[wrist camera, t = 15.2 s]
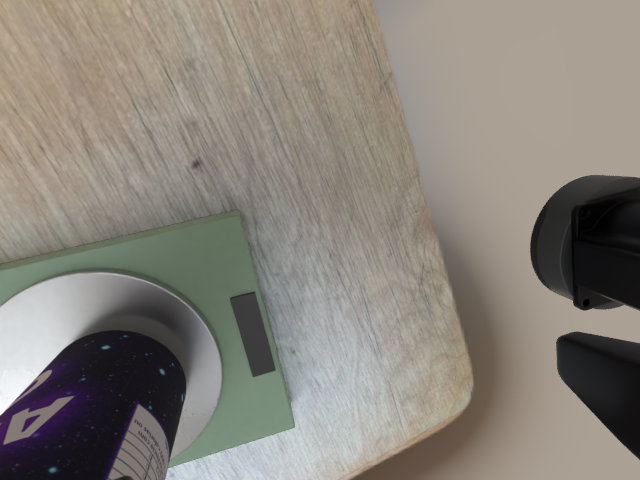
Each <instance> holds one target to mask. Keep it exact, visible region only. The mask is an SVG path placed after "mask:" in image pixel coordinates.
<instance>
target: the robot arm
mask: <svg viewBox="0 0 640 480" xmlns="http://www.w3.org/2000/svg"><path fill="white" fill-rule="evenodd" d="M581 212H582V214H581ZM571 234H572V272H573V303H574V306H575V307H577V308H579V309H581V310H589V309H592V308H595V307H598V306H602V305H605V304H608V303H611V302H615V301H616V302H619V303H621V304H624V305H626V306H629V307H632V308H634V309H637V310H639V311H640V187H639V188H635V189H632V190H628V191H624V192H620V193H616V194H613V195H609V196H605V197H601V198H597V199H593V200H590V201H586V202H582V203H578V204H576V205H575V206H574V207H573V209H572V211H571ZM556 347H557V369H558V373H559V375H560V377H561V378H562V380H563V381H564V382H565V384H566V385H567V386H568V387H569V388H570V389H571V390H572V391H573V392H574V393H575V394H576V395H577V396H578V397H579V398H580V399H581V401H582V402H583V403H584V404H585V405H586V406H587V407H588V408H589V409H590V410H591V411H592V412H593V413H594V414H595V415H596V416H597V418H598V419H599V420H600V421H601V422H602V423H603V424H604V425H605V426H606V427H607V428H608V429H609V430H610V431H611V432H612V433H613V435H614V436H615V437H616V438H617V439H618V440H619V441H620V442H621V443H622V444H623V445H624V446H626V447H627V448H628V449H629V450H630V451H631V452H632V453H633V454H634V455H635V456H636V457H637V458H638V459H639V460H640V343H635V342H630V341H624V340H619V339H613V338H609V337H603V336H598V335H593V334H587V333H582V332H572V333H569V334H566V335H563V336H560V337H559V338H558V339H557V342H556ZM113 480H133V478H132V477H131V476H128V475H126V476H122V477H119V478H116V479H113Z"/></svg>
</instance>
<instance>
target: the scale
mask: <svg viewBox="0 0 640 480" xmlns="http://www.w3.org/2000/svg"><path fill="white" fill-rule="evenodd" d="M109 330H124V331H132V332H137V333H140V334H143V335H146V336H149V337H151V338H153V339H155V340H157V341H159V342H160V343H162V344H163V345H164V346H166V347H167V348H168V349H169V350H170V351H171V352H172V353H173V354H174V355H175V356H176V358H177V359H178V361H179V362H180V364H181V366H182V368H183V371H184V374H185V378H186V397H185V401H184V405H183V409H182V413H181V417H180V421H179V425H178V429H177V433H176V437H175V441H174V445H173V449H172V453H171V457H170V461H169V465H168V468H170V467H173V466H176V465H179V464H183V463H186V462H189V461H192V460H195V459H198V458H201V457H204V456H208V455H211V454H214V453H217V452H220V451H223V450H226V449H229V448H232V447H236V446H239V445H242V444H245V443H248V442H251V441H254V440H257V439H260V438H264V437H267V436H270V435H273V434H276V433H279V432H282V431H285V430H289V429H292V428H294V427H295V423H294V418H293V412H292V407H291V402H290V398H289V395H288V391H287V387H286V383H285V380H284V376H283V372H282V368H281V364H280V361H279V357H278V353H277V349H276V345H275V342H274V338H273V334H272V330H271V326H270V323H269V319H268V315H267V311H266V307H265V304H264V300H263V296H262V292H261V289H260V285H259V281H258V277H257V273H256V270H255V266H254V262H253V258H252V254H251V251H250V247H249V243H248V239H247V235H246V232H245V228H244V224H243V220H242V216H241V213H240V210H233V211H229V212H225V213H220V214H216V215H212V216H207V217H203V218H199V219H194V220H190V221H186V222H181V223H177V224H173V225H168V226H164V227H160V228H155V229H151V230H147V231H142V232H138V233H134V234H129V235H125V236H121V237H116V238H112V239H108V240H103V241H99V242H95V243H90V244H86V245H82V246H77V247H73V248H69V249H64V250H60V251H56V252H51V253H47V254H42V255H38V256H34V257H29V258H25V259H21V260H16V261H12V262H8V263H3V264H0V415H1V414H2V413H3V412H4V411H5V410H6V409H7V408H8V407H9V406H10V405H11V404H12V403H13V402H14V401H15V400H16V398H17V397H18V396H19V395H20V394H21V393H22V392H23V391H24V390H25V389H26V388H27V387H28V386H29V385H30V384H31V383H32V382H33V381H34V379H35V378H36V377H37V376H38V375H39V374H40V373H41V372H42V371H43V370H44V369H45V368H46V367H47V366H48V365H49V364H50V363H51V361H52V360H53V359H54V358H55V357H56V356H57V355H58V354H59V353H60V352H61V351H62V350H63V349H64V348H65V347H67V346H68V345H70V344H71V343H73V342H74V341H76V340H78V339H80V338H82V337H84V336H87V335H90V334H93V333H97V332H101V331H109Z"/></svg>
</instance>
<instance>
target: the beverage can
mask: <svg viewBox="0 0 640 480" xmlns="http://www.w3.org/2000/svg"><path fill="white" fill-rule="evenodd" d="M185 397H186V378H185V374H184V371H183V368H182V366H181V364H180V362H179V361H178V359H177V358H176V356H175V355H174V354H173V353H172V352H171V351H170V350H169V349H168V348H167V347H166V346H164V345H163V344H162V343H160V342H159V341H157V340H155V339H153V338H151V337H149V336H146V335H143V334H140V333H137V332H132V331H124V330H109V331H101V332H97V333H93V334H90V335H87V336H84V337H82V338H80V339H78V340H76V341H74V342H73V343H71V344H70V345H68V346H67V347H65V348H64V349H63V350H62V351H61V352H60V353H59V354H58V355H57V356H56V357H55V358H54V359H53V360H52V361H51V363H50V364H49V365H48V366H47V367H46V368H45V369H44V370H43V371H42V372H41V373H40V374H39V375H38V376H37V377H36V378H35V379H34V381H33V382H32V383H31V384H30V385H29V386H28V387H27V388H26V389H25V390H24V391H23V392H22V393H21V394H20V395H19V396H18V397H17V398H16V400H15V401H14V402H13V403H12V404H11V405H10V406H9V407H8V408H7V409H6V410H5V411H4V412H3V413H2V414H1V415H0V480H113V479H116V478H119V477H122V476H126V475H128V476H131V477H132V478H133V480H165V477H166V473H167V469H168V465H169V461H170V457H171V453H172V449H173V445H174V441H175V437H176V433H177V429H178V425H179V421H180V417H181V413H182V409H183V405H184V401H185Z"/></svg>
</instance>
